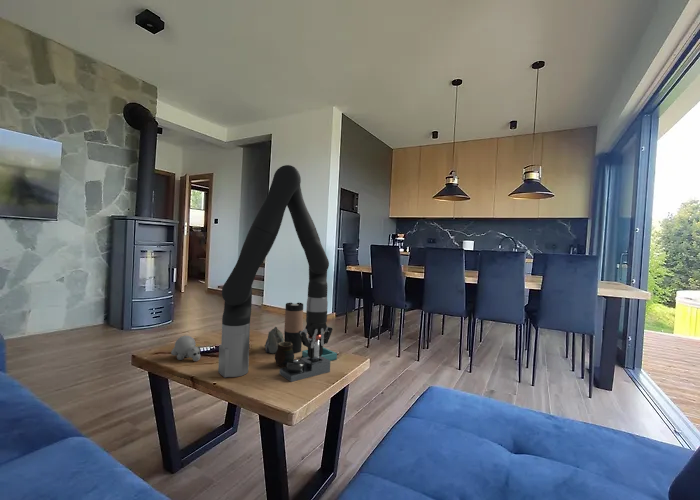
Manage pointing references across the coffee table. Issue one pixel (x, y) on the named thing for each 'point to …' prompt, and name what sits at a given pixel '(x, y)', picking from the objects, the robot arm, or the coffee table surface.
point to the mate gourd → (284, 353)
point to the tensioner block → (304, 368)
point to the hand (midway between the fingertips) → (315, 356)
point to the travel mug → (293, 325)
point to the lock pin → (316, 349)
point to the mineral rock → (273, 340)
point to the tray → (323, 354)
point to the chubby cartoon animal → (186, 348)
